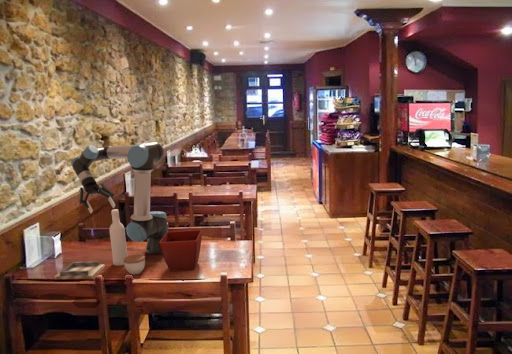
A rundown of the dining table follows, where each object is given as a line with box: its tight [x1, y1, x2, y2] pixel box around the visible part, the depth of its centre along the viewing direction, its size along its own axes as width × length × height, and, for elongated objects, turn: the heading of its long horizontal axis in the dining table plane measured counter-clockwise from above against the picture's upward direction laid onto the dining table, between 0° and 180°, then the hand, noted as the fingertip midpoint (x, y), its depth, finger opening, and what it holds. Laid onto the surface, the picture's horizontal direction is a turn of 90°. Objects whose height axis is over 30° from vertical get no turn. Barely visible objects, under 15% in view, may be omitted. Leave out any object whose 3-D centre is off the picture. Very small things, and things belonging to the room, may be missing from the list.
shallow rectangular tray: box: [53, 261, 106, 280], centre depth 250 cm, size 20×16×4 cm
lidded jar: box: [123, 254, 146, 275], centre depth 246 cm, size 11×11×9 cm
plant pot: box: [159, 229, 203, 272], centre depth 249 cm, size 19×19×17 cm
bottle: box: [109, 208, 128, 267], centre depth 259 cm, size 8×8×30 cm
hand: (103, 209), depth 265 cm, fingers open, 13 cm apart
